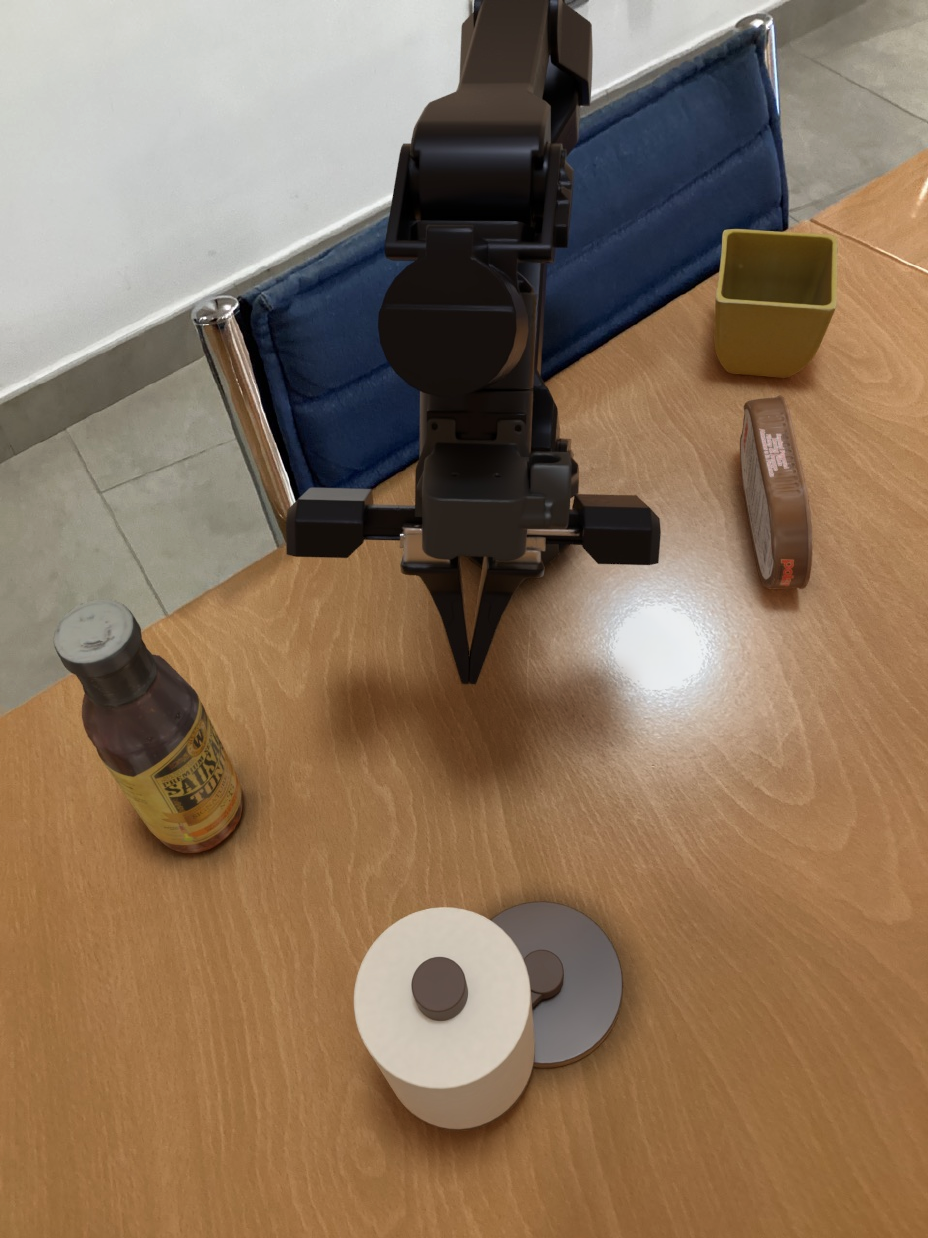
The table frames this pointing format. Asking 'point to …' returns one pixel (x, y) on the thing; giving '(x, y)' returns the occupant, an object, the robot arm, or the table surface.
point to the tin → (775, 495)
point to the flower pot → (773, 300)
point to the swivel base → (568, 979)
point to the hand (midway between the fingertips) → (468, 682)
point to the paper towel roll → (452, 1014)
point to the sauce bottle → (149, 729)
